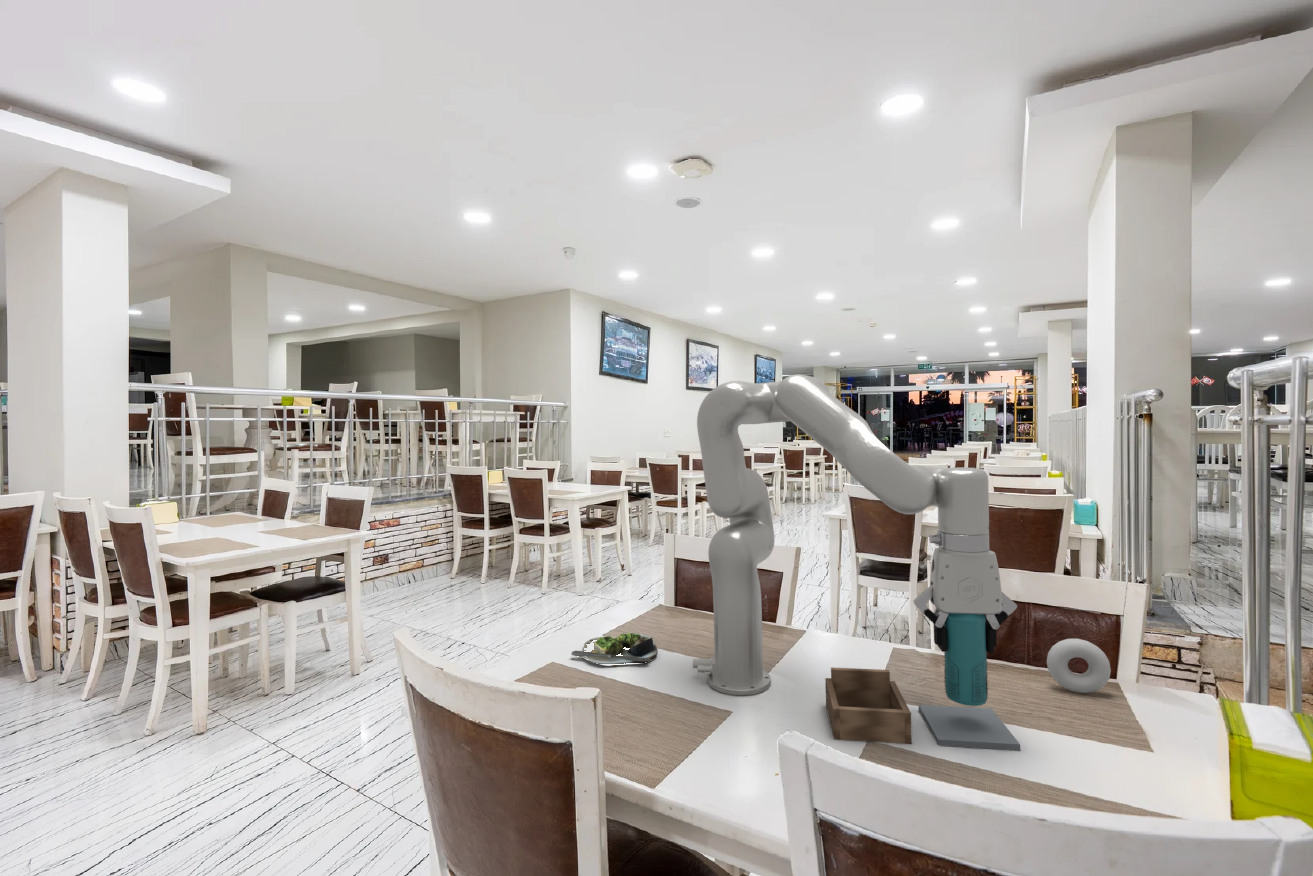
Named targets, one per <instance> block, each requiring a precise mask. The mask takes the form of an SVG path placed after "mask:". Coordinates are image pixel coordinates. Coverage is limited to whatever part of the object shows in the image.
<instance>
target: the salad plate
mask: <svg viewBox="0 0 1313 876" xmlns="http://www.w3.org/2000/svg"><path fill="white" fill-rule="evenodd" d="M613 636H614V635H613ZM613 636H612V635H608V636H597V637H593V638H590V639H588V640H586V641H585V642H584V643H583V645H584V647H583V648H587V645H586V644H590V643H591V642H592V641H593V640H597V641H595V642H593V643H594V650H592V651H591V652H584V651H586V650H584V651H581V650H573V651H571V656H574V657H577V656H579V657H578V658H581V657H584V658H586V659H588V661H587V662H589V661H591V662H594V663H598V664H624V663H625V664H626V663H644V664H646V663H645V662H647V663H649V662H648V661H650V660H652V659H654V658H655V657H657V656H658V654H659V653H658V651H659V650H658V647H657V646H656V643H655V641H654V640H653V637H651V636H649V635H647V634H643V633H636V632H635V633H633V632H626V633H621V634H619V635H615V636H616V637H617V638H613ZM624 647H626V648H630V649H629V650H625V649H623V648H624ZM620 653H621V655H623V656H616V655H618V654H620ZM655 659H656V658H655ZM655 659H654V660H655ZM652 661H653V660H652ZM591 662H590V663H591ZM650 662H651V661H650ZM594 663H593V664H594Z"/></svg>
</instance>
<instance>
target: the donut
mask: <svg viewBox="0 0 1313 876" xmlns="http://www.w3.org/2000/svg"><path fill="white" fill-rule="evenodd" d="M1074 658H1080V659H1083V660H1085V661H1086V663H1087V665H1088V668H1087V669H1086V671H1085V672H1082V673H1075V672H1073V671H1072V670H1070V668H1069V665H1068V663H1069V662H1070V660H1072V659H1074ZM1046 665H1047V670H1048V672H1049V674H1050V675H1051V677H1052V679H1053V680H1054V681H1055V682H1056V683H1057V684H1059V686H1061V687H1063V688H1064V689H1066V690H1068V691H1070V692H1075V693H1077V694H1090V693H1093V692H1097V691H1099V690H1100V689H1102V688H1103V687H1105V686H1106V684H1107V683H1108V682H1109V680H1110V677H1111V672H1112V669H1111V663H1110V660H1109V659H1108V657H1107V655H1106V654H1105V652H1104V651H1102V649H1101V648H1100V647H1098V646H1097V645H1095V644H1094V643H1092V642H1090V641H1088V640H1085V639H1080V638H1067V639H1063V640H1060V641H1057V642H1056V643H1055V644H1054V645H1052V646H1051V648H1050V649H1049V651H1048V652H1047V657H1046Z"/></svg>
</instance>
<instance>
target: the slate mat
mask: <svg viewBox="0 0 1313 876" xmlns="http://www.w3.org/2000/svg"><path fill="white" fill-rule="evenodd" d="M917 706H918V711H919V714H920V716H921V717H922V720H924V721H923V722H924V723H925V724H926V726H927V728H928V730H929V732H930V733H931V736H932V737H933V739H934V741H935V742H936V744H937V746H939V747H952V748H955V747H956V748H968V749H983V750H984V749H985V750H986V749H987V750H1002V751H1015V752H1016V751H1018V752H1019V751H1021V743H1020V742H1019V741H1018V740H1017V738H1015V736H1014V735H1013V733H1012V732H1011V731H1010V730H1009V728H1008V727H1007V726H1006V724H1005V723H1004V722H1003V721H1002V720H1001V719H1000V717H999V716H998V715H997V714H996V713H995V711H994V710H993V708H990V707H976V706H954V705H953V706H949V705H937V704H936V705H933V704H918V705H917Z"/></svg>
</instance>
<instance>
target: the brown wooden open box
mask: <svg viewBox="0 0 1313 876" xmlns="http://www.w3.org/2000/svg"><path fill="white" fill-rule="evenodd" d="M824 680H825V707H826V711H827V716H828V721H829V724H830V728H831V733H832V737H833V740H838V741H839V740H843V741H854V742H855V741H859V742H872V743H873V742H874V743H886V744H887V743H888V744H889V743H890V744H905V745H906V744H907V745H912V712H911V709H910V708H909V706H908V704H907V703H906V701H905V698H904V697H903V695H902V692H901V691H900V689H899V688H898V685H897V683H896V682H895V681H894V680H891V672H890V670H889V669H874V668H855V667H854V668H852V667H851V668H849V667H833V666H832V667H830V677H825V679H824Z"/></svg>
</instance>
